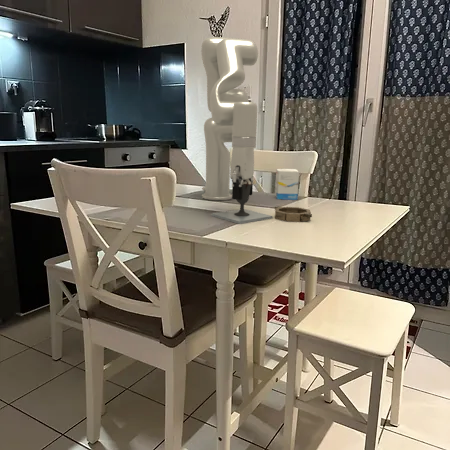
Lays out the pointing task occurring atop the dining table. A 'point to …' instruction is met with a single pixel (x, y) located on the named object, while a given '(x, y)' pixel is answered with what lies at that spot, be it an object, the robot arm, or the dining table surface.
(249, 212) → the plate
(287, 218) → the collar
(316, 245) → the dining table surface
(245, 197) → the sundae
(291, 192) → the ink box
